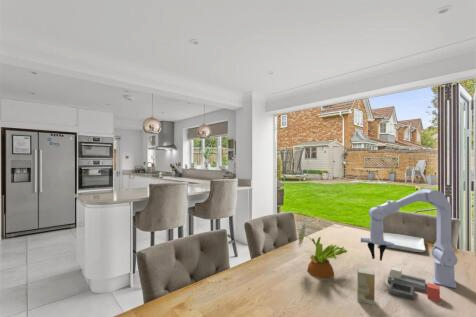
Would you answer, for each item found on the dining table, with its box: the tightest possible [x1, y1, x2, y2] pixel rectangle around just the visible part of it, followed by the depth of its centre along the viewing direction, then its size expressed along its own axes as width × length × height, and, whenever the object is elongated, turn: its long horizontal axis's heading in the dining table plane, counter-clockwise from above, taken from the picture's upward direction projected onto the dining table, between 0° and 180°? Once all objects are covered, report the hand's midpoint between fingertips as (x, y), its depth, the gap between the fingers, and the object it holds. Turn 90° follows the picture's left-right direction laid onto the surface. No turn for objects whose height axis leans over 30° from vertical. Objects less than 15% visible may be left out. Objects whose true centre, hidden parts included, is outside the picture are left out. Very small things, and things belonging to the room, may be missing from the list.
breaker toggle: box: [390, 266, 403, 279], centre depth 119 cm, size 4×4×4 cm
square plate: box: [379, 232, 427, 254], centre depth 169 cm, size 27×27×4 cm
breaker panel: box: [387, 270, 426, 293], centre depth 117 cm, size 10×14×2 cm
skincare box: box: [356, 267, 376, 305], centre depth 103 cm, size 6×4×12 cm
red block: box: [426, 282, 441, 302], centre depth 104 cm, size 4×4×5 cm
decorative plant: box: [297, 223, 348, 279], centre depth 128 cm, size 27×24×25 cm
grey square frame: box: [388, 281, 415, 301], centre depth 109 cm, size 8×8×2 cm
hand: (377, 259), depth 124 cm, fingers open, 3 cm apart
